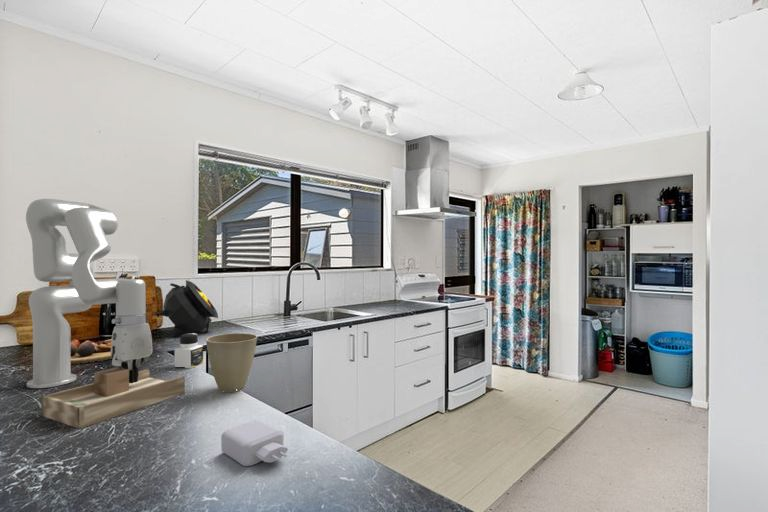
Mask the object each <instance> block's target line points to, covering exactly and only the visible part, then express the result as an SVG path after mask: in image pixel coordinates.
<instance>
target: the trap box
mask: <svg viewBox="0 0 768 512" xmlns="http://www.w3.org/2000/svg"><path fill="white" fill-rule="evenodd" d="M185 378H186V377H185V376H178V377H176V378H172V379H169V380H162V379H158V378H153V377H150V369H142V370H138V382H134V383H129V391H126V392H123V393H119V394H116V395H113V396H109V397H104V396H100V395H96V394H94V382H93V383H89V384H84V385H81V386H77V387H73V388H69V389H65V390H61V391H57V392H54V393H49V394H46V395H41V416H42V417H44V418H47V419H51V420H53V421H55V422H56V421H57V422H58V423H61V424H64V425H66V426H70V427H73V428H76V429H83V428H87V427H88V426H92V425H95V424H98V423H101V422H104V421H107V420H110V419H113V418H115V417H118V416H122V415H124V414H127V413H130V412H134V411H136V410H139V409H143V408H145V407H148V406H151V405H154V404H157V403H160V402H162V401H166V400H169V399H172V398H175V397H178V396H181V395H183V394H185V393H186V389H185V387H186V381H185V380H186V379H185Z"/></svg>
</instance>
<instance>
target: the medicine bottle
mask: <svg viewBox="0 0 768 512" xmlns="http://www.w3.org/2000/svg"><path fill="white" fill-rule="evenodd" d="M198 341H199V335H198V333H195V332H192V333H191V332H190V333H189V332H188V333H184V334H182V335H180V337H179V343H180V344H179V346H178V347H176V348H174V368H175V367H185V368H184V369H193V367H194V368H195V367H198V366H200V365H203V364H204V346H203V345H201V344H200V345H199V342H198Z"/></svg>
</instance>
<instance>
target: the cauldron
mask: <svg viewBox="0 0 768 512" xmlns="http://www.w3.org/2000/svg"><path fill="white" fill-rule="evenodd" d="M169 286H171V287H172V288H171V289H170V290H169V291H168V293H167V294H166V295H165V298H164V303H163V310H161V311H156V312H154V313H155V316H156V317H157V318H159V317H160V316H163V317H166V318H168V320H170V321H171V322H172V324H173V325H174V327H173V332H171V335H172V336H173V337H174V338H177V334H178V333H179V332H180V331H182V332H185V333H186V332H188V333H189V332H190V333H191V332H192V333H195V332H196V333H197V332H200V331H202V330H205V333H208V331H209V328H210V324H211V323H212V319H211V318H215V319H219V314H218V311H217V309H216V308H215V306H214V305H213V304H212V302H211V301H210V299H209V298H208V297H207V295H206V294H205V293H204V292H203V291H202V290H201V289H200V288H199V287H198V286H197V285H196V284H195V283H194V282H192V281H190V280H187V279H186V280H185V285H178V284H175V283H170V284H169Z"/></svg>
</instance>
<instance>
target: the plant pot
mask: <svg viewBox="0 0 768 512" xmlns="http://www.w3.org/2000/svg"><path fill="white" fill-rule="evenodd" d="M257 341H258V335H256V334H252V333H245V332H244V333H243V332H242V333H241V332H240V333H239V332H235V333H222V334H216V335H211V336H209V337H207V338H206V339H205V342H206V350H207V355H208V360H209V365H210V368H211V372H212V375H213V378H214V382H215V383H216V386H217V389H218V391H219V390H220V391H219V392H221V391H224V392H223V393H234V391H236V389H237V390H238V391H236V392H239V391H242V390H243V389H244V388H245V386H246V383H247V381H248V378H249V376H250V373H251V369H252V366H253V363H254V357H255V355H256V354H255V353H256V349H257Z"/></svg>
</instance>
